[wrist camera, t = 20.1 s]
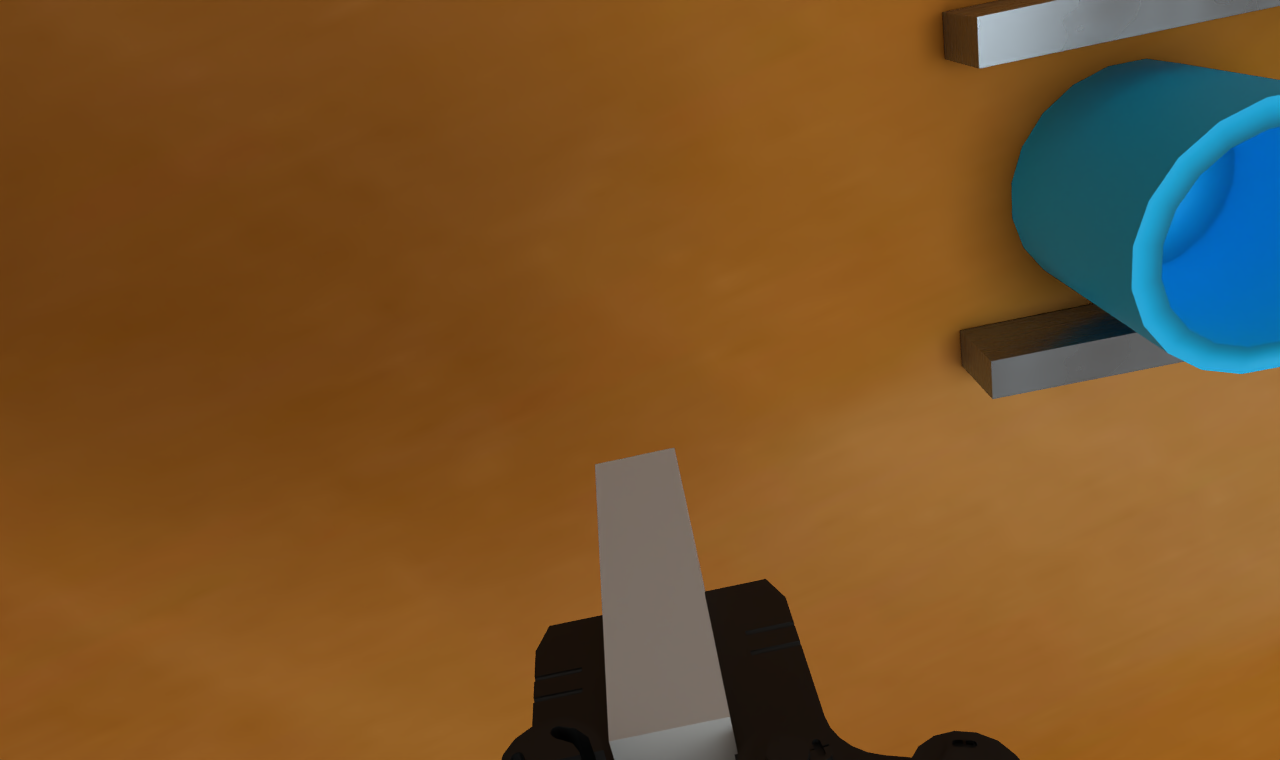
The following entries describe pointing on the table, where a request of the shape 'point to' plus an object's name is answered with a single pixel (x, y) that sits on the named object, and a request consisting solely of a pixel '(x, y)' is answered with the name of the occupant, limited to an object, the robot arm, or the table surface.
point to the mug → (1163, 206)
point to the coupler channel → (1086, 336)
